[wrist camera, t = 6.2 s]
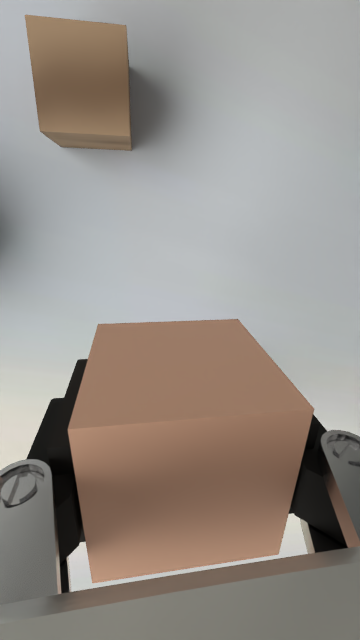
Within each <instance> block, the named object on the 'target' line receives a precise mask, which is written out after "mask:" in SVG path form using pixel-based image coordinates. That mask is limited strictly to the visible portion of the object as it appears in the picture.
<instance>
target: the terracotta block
mask: <svg viewBox="0 0 360 640" xmlns="http://www.w3.org/2000/svg"><path fill="white" fill-rule="evenodd" d="M313 412H314V408H313V407H312V406H311V405H310V403H309V402H308V401H307V400H306V399H305V398H304V396H303V395H302V394H301V393H300V392H299V390H298V389H297V388H296V387H295V386H294V385H293V383H292V382H291V381H290V380H289V379H288V378H287V376H286V375H285V374H284V373H283V372H282V370H281V369H280V368H279V367H278V366H277V365H276V363H275V362H274V361H273V360H272V359H271V358H270V356H269V355H268V354H267V353H266V352H265V351H264V349H263V348H262V347H261V346H260V345H259V343H258V342H257V341H256V340H255V339H254V338H253V336H252V335H251V334H250V333H249V332H248V331H247V329H246V328H245V327H244V326H243V325H242V323H241V322H240V321H239V320H238V319H230V320H201V321H173V322H145V323H116V324H98V326H97V330H96V333H95V337H94V340H93V344H92V347H91V351H90V354H89V357H88V361H87V364H86V368H85V371H84V375H83V378H82V382H81V385H80V389H79V392H78V395H77V399H76V402H75V406H74V409H73V413H72V416H71V420H70V423H69V427H68V435H69V441H70V447H71V453H72V459H73V466H74V472H75V478H76V484H77V490H78V497H79V503H80V509H81V515H82V522H83V528H84V534H85V540H86V546H87V553H88V559H89V565H90V571H91V577H92V583H98V582H104V581H110V580H117V579H123V578H130V577H136V576H143V575H149V574H155V573H162V572H168V571H175V570H181V569H188V568H194V567H201V566H207V565H213V564H220V563H226V562H233V561H239V560H246V559H252V558H259V557H265V556H271V555H278V554H279V550H280V546H281V542H282V538H283V534H284V530H285V526H286V522H287V518H288V514H289V510H290V505H291V501H292V497H293V493H294V489H295V485H296V481H297V477H298V473H299V469H300V465H301V461H302V457H303V453H304V449H305V444H306V440H307V436H308V432H309V428H310V424H311V420H312V416H313Z"/></svg>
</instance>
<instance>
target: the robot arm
mask: <svg viewBox="0 0 360 640" xmlns="http://www.w3.org/2000/svg"><path fill="white" fill-rule="evenodd" d="M87 361H88V359H81V360H78V361H77V363H76V366H75V369H74V372H73V374H72V377H71V380H70V383H69V386H68V389H67V391H66V394H65V397H64V398H54V399H52V400H51V402H50V404H49V406H48V409H47V411H46V413H45V416H44V418H43V421H42V423H41V425H40V428H39V430H38V433H37V435H36V437H35V440H34V442H33V445H32V447H31V450H30V452H29V454H28V457H27V459H26V460H22V461H18V462H15V463H13V464H10V465H8V466H7V467H5V468H4V469H2V470H0V640H360V437H359V436H357V435H355V434H352V433H350V432H346V431H341V430H331V431H328V432H327V430H326V429H325V428H324V427H323V426H322V424H321V423H320V422H319V421H318V420H317V418H316V417H315V416H314V415H313V416H312V420H311V424H310V428H309V432H308V436H307V440H306V444H305V449H304V453H303V457H302V461H301V465H300V469H299V473H298V477H297V481H296V485H295V489H294V493H293V497H292V501H291V505H290V510H289V514H291V513H294V514H295V516H297V517H299V518H300V521H301V527H302V531H303V535H304V539H305V544H306V548H307V552H308V554H305V555H299V556H292V557H286V558H280V559H273V560H267V561H260V562H254V563H248V564H241V565H235V566H229V567H222V568H216V569H210V570H204V571H197V572H191V573H185V574H178V575H172V576H166V577H160V578H154V579H148V580H142V581H135V582H129V583H123V584H117V585H111V586H105V587H99V588H93V589H87V590H81V591H74V592H71V581H70V569H69V558H68V556H69V555H70V554H71V553H72V552H73V551H74V550H75V549H76V548H77V547H78V546H79V543H80V542H85V541H86V540H85V534H84V528H83V522H82V515H81V509H80V503H79V497H78V490H77V484H76V478H75V472H74V466H73V459H72V453H71V447H70V441H69V435H68V427H69V423H70V420H71V416H72V413H73V409H74V406H75V402H76V399H77V395H78V392H79V389H80V385H81V382H82V378H83V375H84V371H85V368H86V364H87Z"/></svg>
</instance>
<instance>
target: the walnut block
mask: <svg viewBox="0 0 360 640" xmlns="http://www.w3.org/2000/svg"><path fill="white" fill-rule="evenodd" d="M25 20H26V28H27V36H28V43H29V51H30V59H31V66H32V74H33V82H34V89H35V97H36V105H37V112H38V120H39V128H40V132H42V133H43V134H44V135H46V136H47V137H48V138H50V139H51V140H52V141H54V142H55V143H56V144H58V145H59V146H60V147H70V148H91V149H111V150H131V151H132V147H131V116H130V85H129V60H128V45H127V30H126V25H118V24H108V23H99V22H89V21H80V20H70V19H61V18H51V17H42V16H32V15H25Z"/></svg>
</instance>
